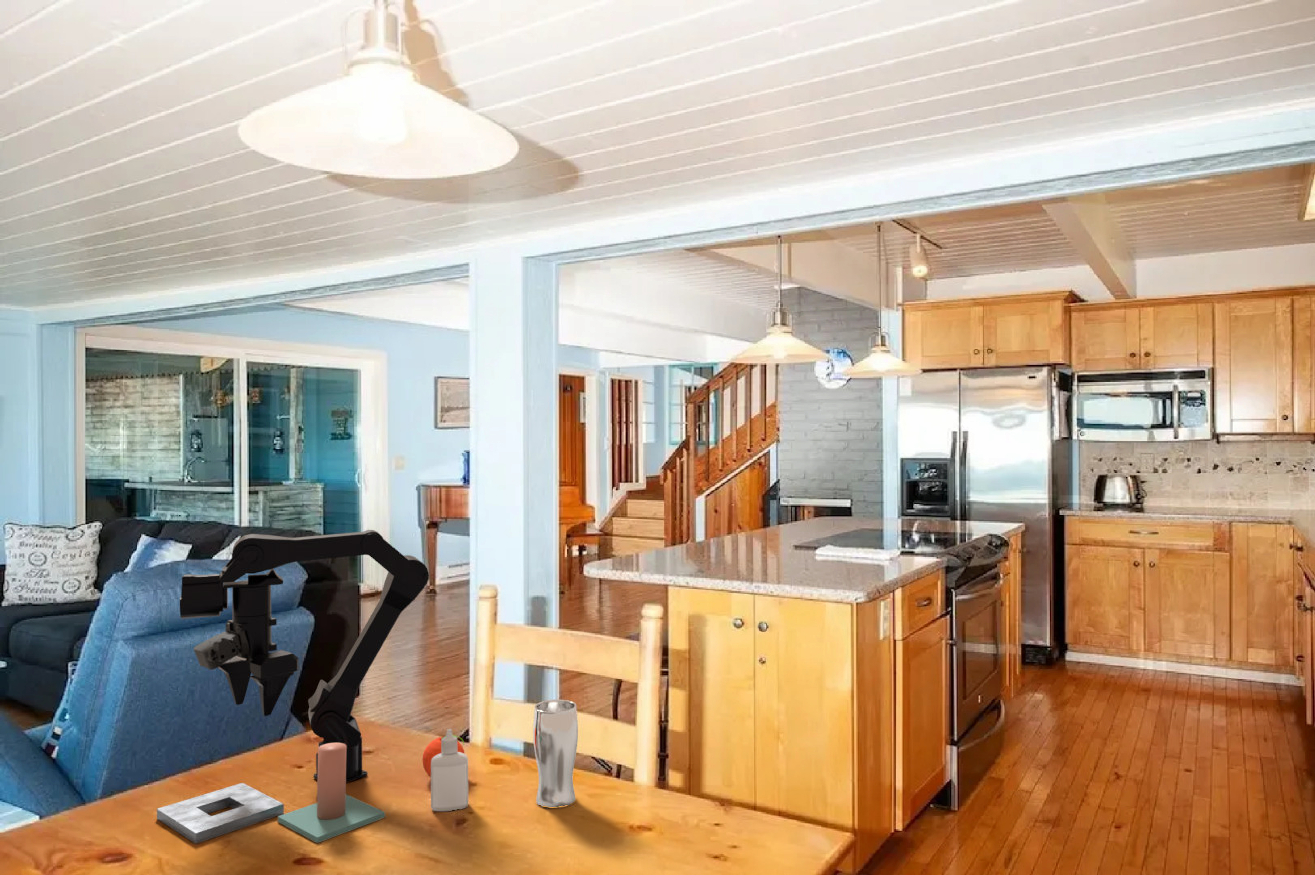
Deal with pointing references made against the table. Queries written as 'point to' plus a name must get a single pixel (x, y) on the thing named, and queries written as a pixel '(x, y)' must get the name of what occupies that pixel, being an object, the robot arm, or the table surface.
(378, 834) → the table surface
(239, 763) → the table surface
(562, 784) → the beer glass
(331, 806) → the pink rounded cylinder
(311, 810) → the rubber mat
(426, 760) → the clementine
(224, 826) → the grey square hole plate
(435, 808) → the eye dropper bottle
